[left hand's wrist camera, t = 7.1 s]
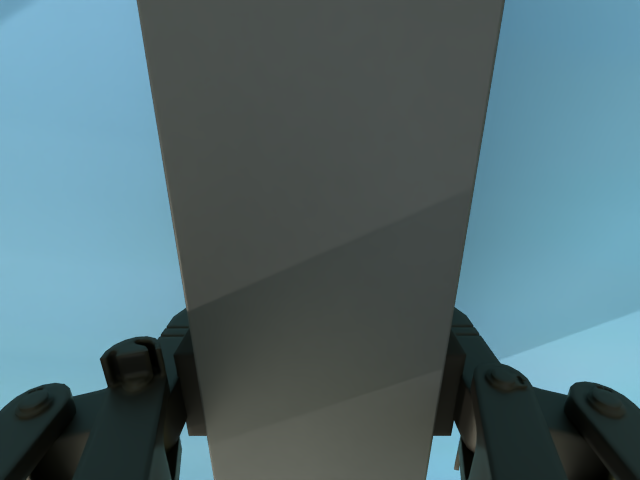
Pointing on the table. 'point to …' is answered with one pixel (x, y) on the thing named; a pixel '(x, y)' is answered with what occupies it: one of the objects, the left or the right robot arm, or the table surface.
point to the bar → (320, 218)
